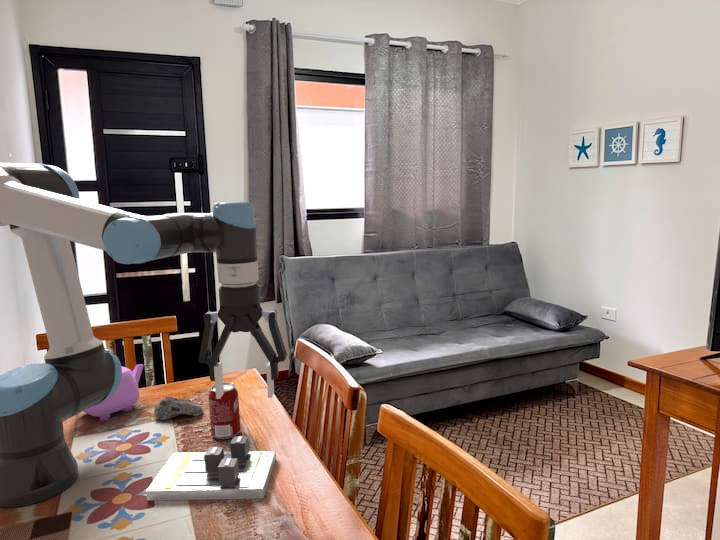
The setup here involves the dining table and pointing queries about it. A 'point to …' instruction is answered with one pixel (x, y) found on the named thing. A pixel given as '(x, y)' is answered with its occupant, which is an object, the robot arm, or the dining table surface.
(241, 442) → the breaker far
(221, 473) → the breaker near
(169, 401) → the grey rock
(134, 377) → the teapot
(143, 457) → the dining table surface
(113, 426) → the dining table surface
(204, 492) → the panel
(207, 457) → the breaker
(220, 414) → the soda can
